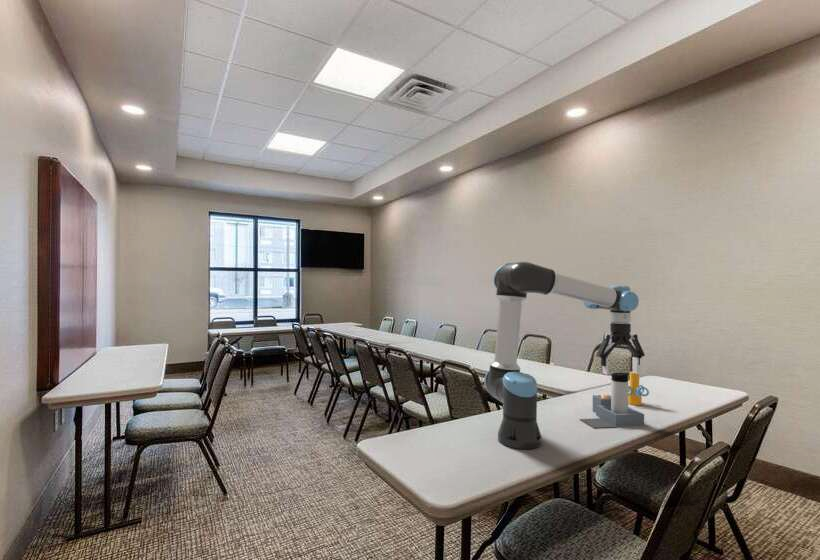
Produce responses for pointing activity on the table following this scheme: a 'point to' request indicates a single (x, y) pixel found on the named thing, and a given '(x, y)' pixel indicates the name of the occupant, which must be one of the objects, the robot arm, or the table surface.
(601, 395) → the orange rounded peg
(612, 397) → the travel mug
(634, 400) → the cylinder
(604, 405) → the grey compartment tray
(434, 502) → the table surface
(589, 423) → the rubber mat
